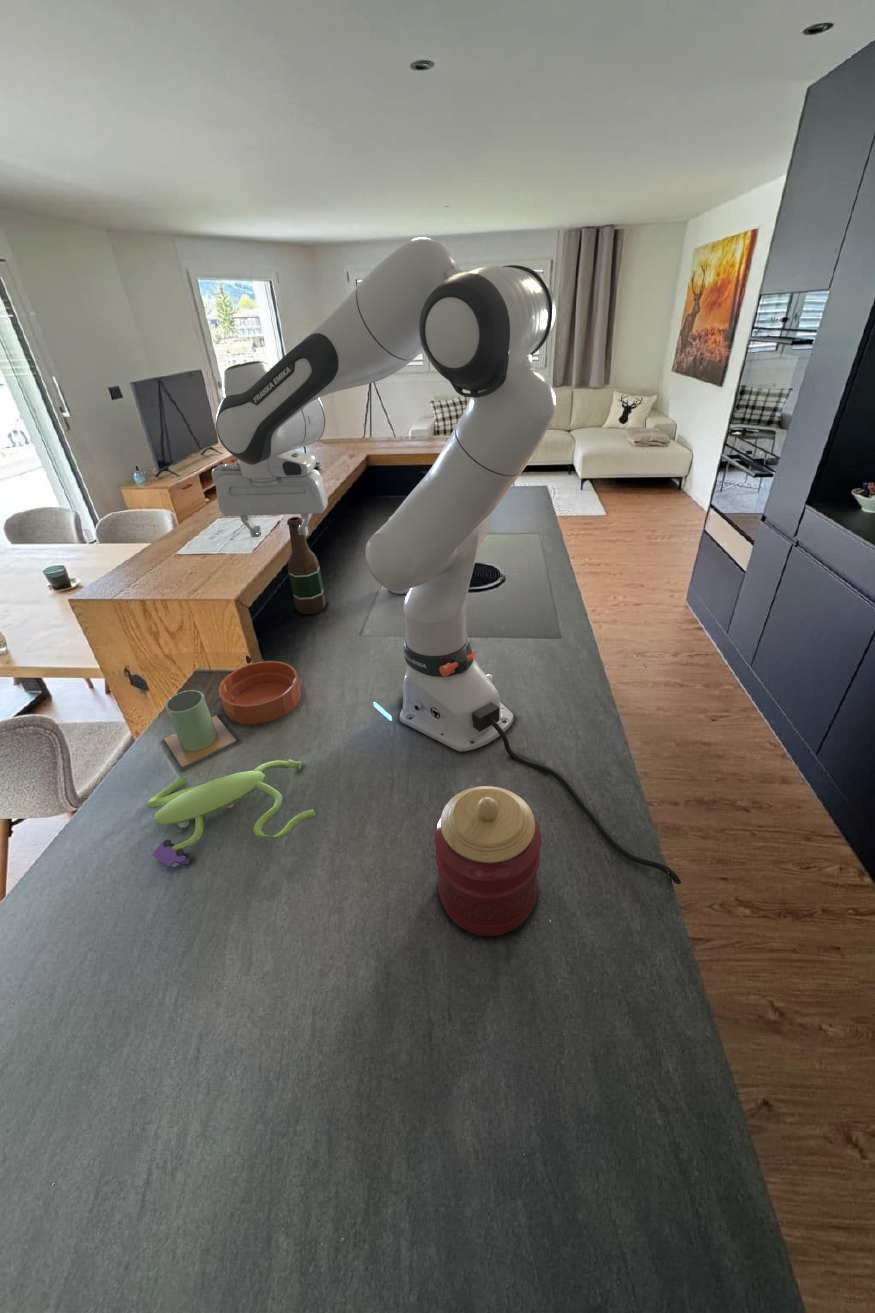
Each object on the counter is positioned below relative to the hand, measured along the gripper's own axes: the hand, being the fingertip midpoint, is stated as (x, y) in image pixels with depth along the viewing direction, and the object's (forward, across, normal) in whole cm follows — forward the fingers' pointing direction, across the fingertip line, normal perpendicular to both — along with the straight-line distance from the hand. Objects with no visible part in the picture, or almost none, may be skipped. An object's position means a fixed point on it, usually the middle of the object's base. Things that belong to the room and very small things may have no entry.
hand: (280, 535), depth 108 cm
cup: (+28, -13, -27) cm, 41 cm away
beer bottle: (+29, -5, +24) cm, 38 cm away
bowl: (+29, -5, -15) cm, 33 cm away
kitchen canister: (+29, +39, -56) cm, 75 cm away
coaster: (+29, -13, -27) cm, 42 cm away
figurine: (+29, 0, -44) cm, 53 cm away
